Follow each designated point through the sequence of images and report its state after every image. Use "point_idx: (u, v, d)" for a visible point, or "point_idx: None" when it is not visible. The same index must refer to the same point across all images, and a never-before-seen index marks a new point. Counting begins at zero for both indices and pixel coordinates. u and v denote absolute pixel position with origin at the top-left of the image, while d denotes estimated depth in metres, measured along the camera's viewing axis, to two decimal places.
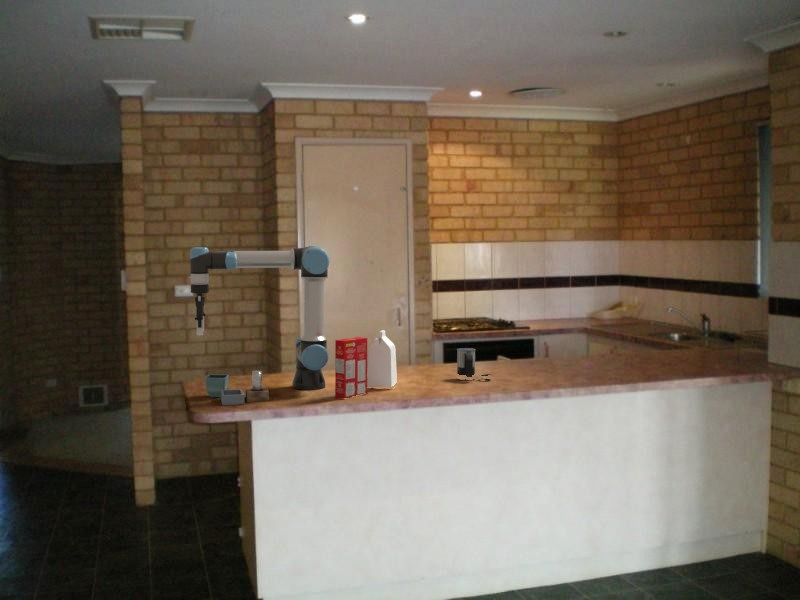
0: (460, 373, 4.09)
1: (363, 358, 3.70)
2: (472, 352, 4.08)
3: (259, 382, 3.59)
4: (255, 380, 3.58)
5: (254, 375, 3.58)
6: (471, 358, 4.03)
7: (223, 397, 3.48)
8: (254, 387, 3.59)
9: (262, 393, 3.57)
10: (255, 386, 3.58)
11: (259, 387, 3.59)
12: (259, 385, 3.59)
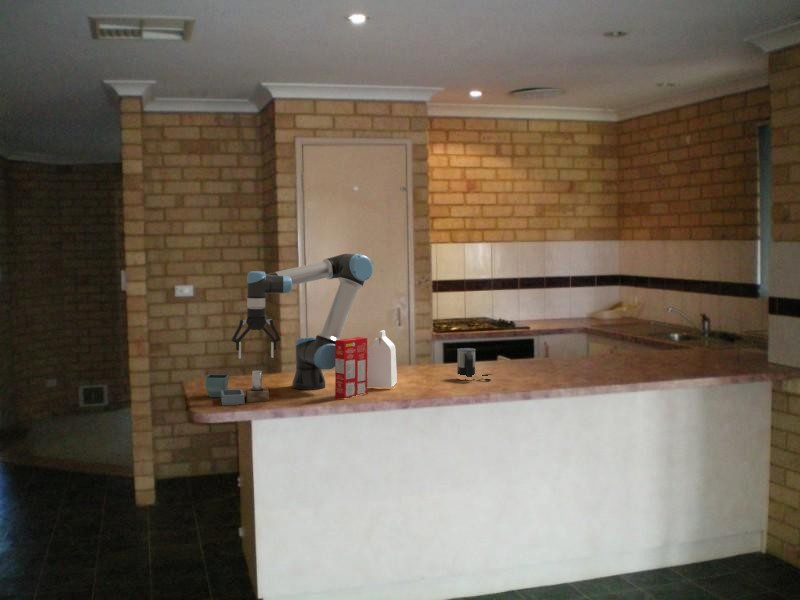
0: (460, 373, 4.09)
1: (363, 358, 3.70)
2: (472, 352, 4.08)
3: (259, 382, 3.59)
4: (255, 380, 3.58)
5: (254, 375, 3.58)
6: (471, 358, 4.03)
7: (223, 397, 3.48)
8: (254, 387, 3.59)
9: (262, 393, 3.57)
10: (255, 386, 3.58)
11: (259, 387, 3.59)
12: (259, 385, 3.59)
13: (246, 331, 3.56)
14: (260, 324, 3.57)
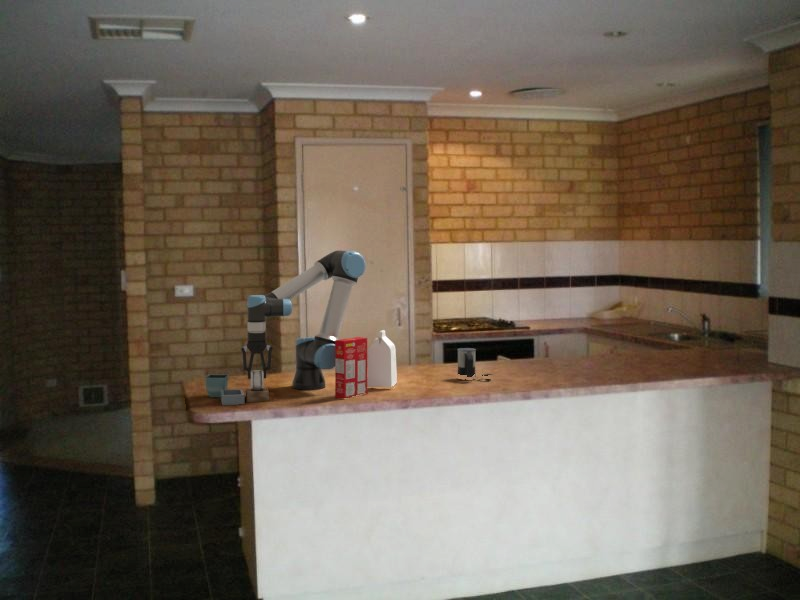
0: (460, 373, 4.09)
1: (363, 358, 3.70)
2: (472, 352, 4.08)
3: (259, 382, 3.59)
4: (255, 380, 3.58)
5: (254, 374, 3.58)
6: (471, 358, 4.03)
7: (223, 397, 3.48)
8: (254, 387, 3.59)
9: (262, 393, 3.57)
10: (256, 385, 3.58)
11: (259, 387, 3.59)
12: (259, 385, 3.59)
13: (251, 357, 3.58)
14: (260, 348, 3.58)
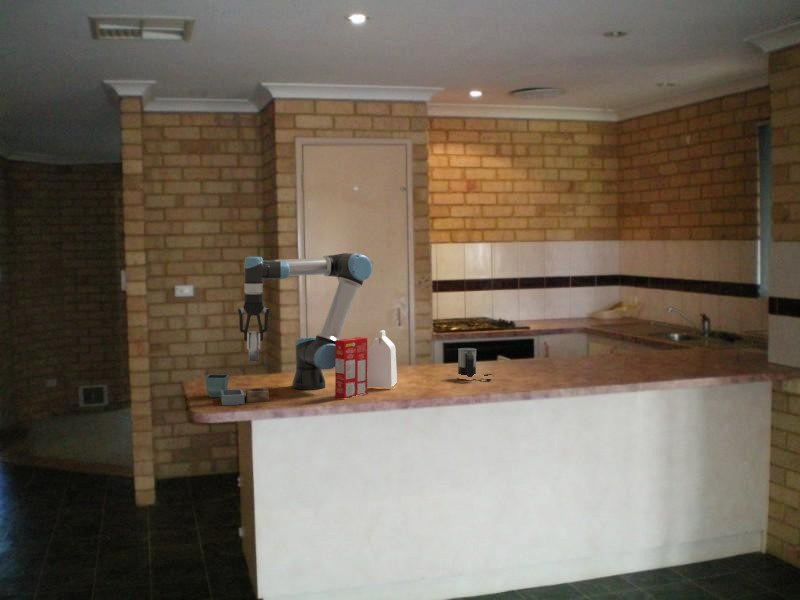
0: (461, 373, 4.09)
1: (363, 358, 3.70)
2: (473, 352, 4.08)
3: (256, 343, 3.57)
4: (252, 341, 3.56)
5: (251, 335, 3.56)
6: (472, 358, 4.03)
7: (223, 397, 3.48)
8: (250, 348, 3.56)
9: (262, 393, 3.57)
10: (252, 346, 3.56)
11: (255, 348, 3.57)
12: (255, 346, 3.57)
13: (248, 319, 3.56)
14: (257, 310, 3.55)
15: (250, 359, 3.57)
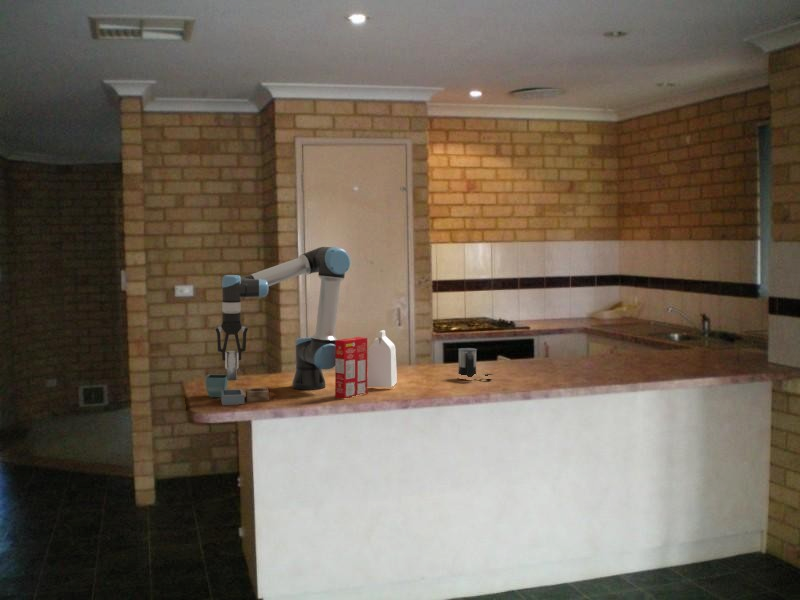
0: (461, 373, 4.09)
1: (363, 358, 3.70)
2: (473, 352, 4.08)
3: (234, 362, 3.52)
4: (230, 360, 3.52)
5: (229, 355, 3.52)
6: (472, 358, 4.03)
7: (223, 397, 3.48)
8: (228, 368, 3.52)
9: (262, 393, 3.57)
10: (230, 366, 3.52)
11: (234, 367, 3.53)
12: (234, 365, 3.52)
13: (226, 338, 3.51)
14: (235, 329, 3.51)
15: (228, 379, 3.53)
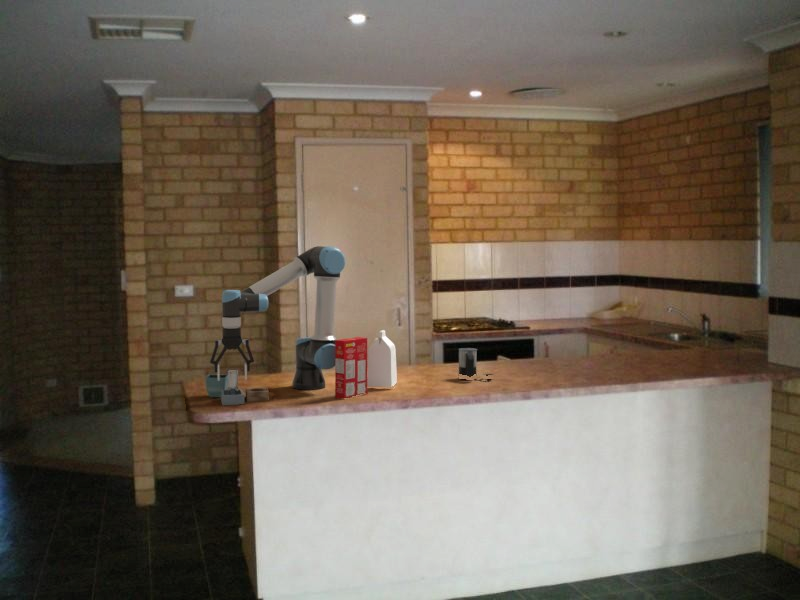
0: (461, 373, 4.10)
1: (363, 358, 3.70)
2: (473, 352, 4.09)
3: (235, 382, 3.53)
4: (231, 380, 3.53)
5: (230, 374, 3.53)
6: (472, 358, 4.03)
7: (223, 397, 3.48)
8: (229, 387, 3.53)
9: (262, 393, 3.57)
10: (231, 385, 3.53)
11: (235, 387, 3.53)
12: (235, 385, 3.53)
13: (223, 352, 3.51)
14: (235, 344, 3.52)
15: None
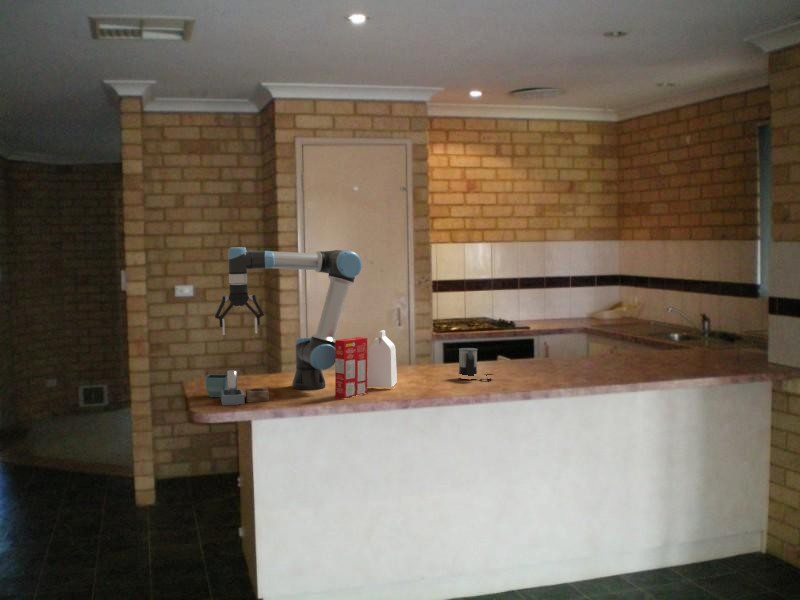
0: (462, 373, 4.10)
1: (363, 358, 3.70)
2: (474, 352, 4.09)
3: (234, 382, 3.53)
4: (230, 380, 3.53)
5: (229, 374, 3.52)
6: (472, 358, 4.03)
7: (223, 397, 3.48)
8: (229, 387, 3.53)
9: (262, 393, 3.57)
10: (231, 385, 3.53)
11: (234, 387, 3.53)
12: (234, 385, 3.53)
13: (229, 307, 3.55)
14: (243, 300, 3.56)
15: None
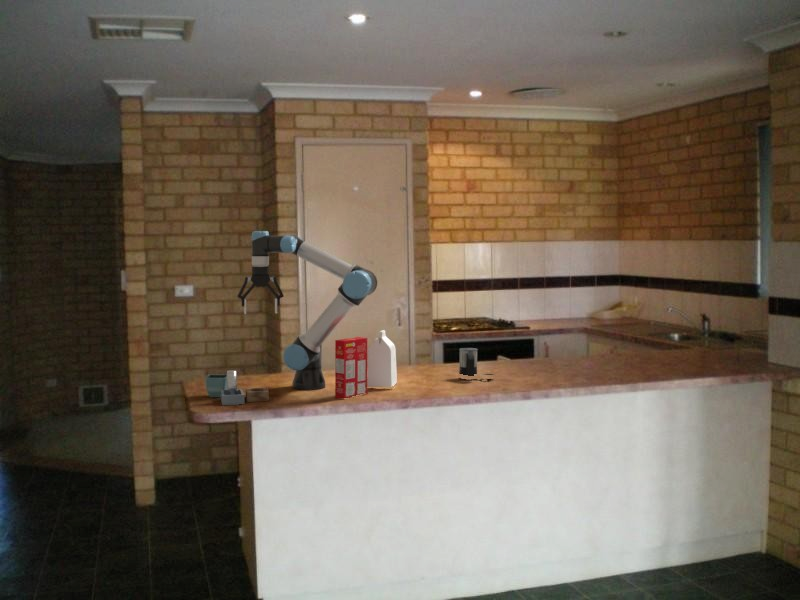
0: (462, 373, 4.10)
1: (363, 358, 3.70)
2: (474, 352, 4.09)
3: (234, 382, 3.53)
4: (230, 380, 3.53)
5: (229, 374, 3.53)
6: (472, 358, 4.04)
7: (223, 397, 3.48)
8: (229, 387, 3.53)
9: (262, 393, 3.57)
10: (230, 385, 3.53)
11: (234, 387, 3.53)
12: (234, 385, 3.53)
13: (251, 288, 3.74)
14: (264, 281, 3.75)
15: None
